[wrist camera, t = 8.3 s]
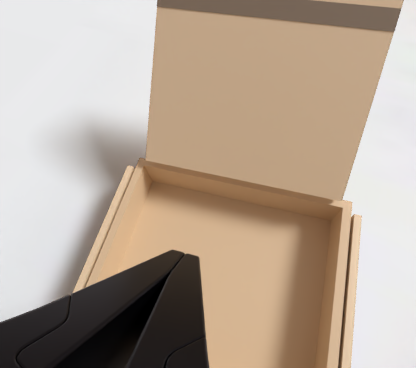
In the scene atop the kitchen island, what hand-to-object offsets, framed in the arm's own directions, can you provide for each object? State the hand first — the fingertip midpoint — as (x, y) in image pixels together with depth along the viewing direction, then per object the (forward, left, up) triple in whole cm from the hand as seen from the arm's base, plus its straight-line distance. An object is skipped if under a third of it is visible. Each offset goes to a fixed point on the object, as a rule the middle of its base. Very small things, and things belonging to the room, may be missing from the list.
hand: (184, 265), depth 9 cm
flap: (+4, +6, -8) cm, 11 cm away
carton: (+1, +1, -12) cm, 12 cm away
